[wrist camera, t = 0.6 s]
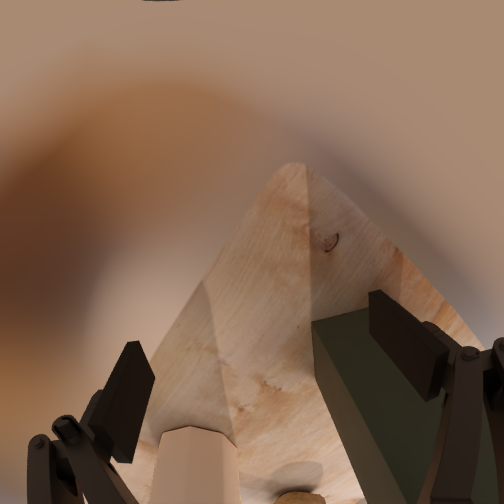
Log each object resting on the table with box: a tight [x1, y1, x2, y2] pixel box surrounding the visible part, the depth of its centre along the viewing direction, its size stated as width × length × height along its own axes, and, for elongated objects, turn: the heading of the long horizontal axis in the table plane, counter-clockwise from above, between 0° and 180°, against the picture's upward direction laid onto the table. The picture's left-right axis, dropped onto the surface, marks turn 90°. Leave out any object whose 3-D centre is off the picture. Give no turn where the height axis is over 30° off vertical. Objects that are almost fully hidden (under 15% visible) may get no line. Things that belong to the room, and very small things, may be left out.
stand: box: [311, 300, 499, 504], centre depth 17 cm, size 8×10×27 cm
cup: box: [149, 426, 241, 504], centre depth 24 cm, size 11×11×18 cm
